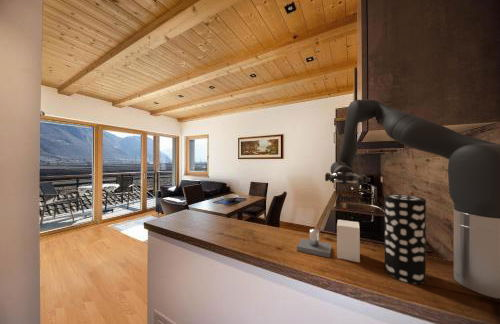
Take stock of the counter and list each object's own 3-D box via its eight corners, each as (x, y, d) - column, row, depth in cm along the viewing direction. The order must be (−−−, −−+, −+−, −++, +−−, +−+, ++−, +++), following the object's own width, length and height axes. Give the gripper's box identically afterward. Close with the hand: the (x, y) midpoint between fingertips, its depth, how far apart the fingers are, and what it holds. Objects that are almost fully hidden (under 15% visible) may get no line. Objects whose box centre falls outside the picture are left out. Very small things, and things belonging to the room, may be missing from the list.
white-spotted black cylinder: (426, 288, 44) (426, 202, 44) (382, 274, 49) (382, 197, 49) (424, 272, 50) (425, 196, 50) (386, 261, 55) (386, 193, 55)
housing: (358, 253, 60) (358, 222, 60) (359, 262, 55) (359, 228, 55) (337, 249, 63) (337, 219, 63) (337, 257, 58) (336, 225, 58)
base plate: (331, 248, 64) (331, 229, 64) (329, 257, 58) (329, 236, 58) (301, 242, 69) (301, 224, 69) (296, 250, 62) (296, 231, 62)
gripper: (326, 165, 85) (325, 169, 70) (362, 166, 80) (369, 171, 65) (325, 182, 86) (324, 189, 71) (362, 184, 80) (369, 192, 65)
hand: (346, 180), depth 68 cm, fingers open, 8 cm apart
